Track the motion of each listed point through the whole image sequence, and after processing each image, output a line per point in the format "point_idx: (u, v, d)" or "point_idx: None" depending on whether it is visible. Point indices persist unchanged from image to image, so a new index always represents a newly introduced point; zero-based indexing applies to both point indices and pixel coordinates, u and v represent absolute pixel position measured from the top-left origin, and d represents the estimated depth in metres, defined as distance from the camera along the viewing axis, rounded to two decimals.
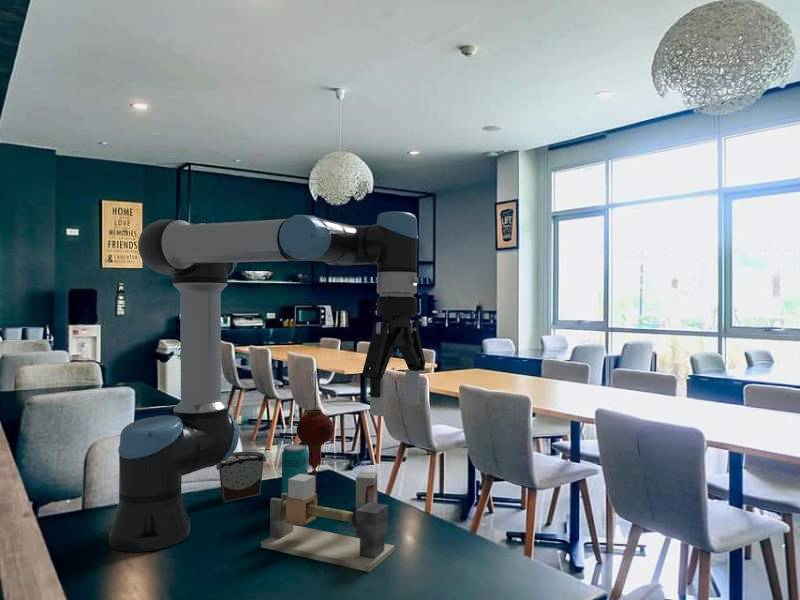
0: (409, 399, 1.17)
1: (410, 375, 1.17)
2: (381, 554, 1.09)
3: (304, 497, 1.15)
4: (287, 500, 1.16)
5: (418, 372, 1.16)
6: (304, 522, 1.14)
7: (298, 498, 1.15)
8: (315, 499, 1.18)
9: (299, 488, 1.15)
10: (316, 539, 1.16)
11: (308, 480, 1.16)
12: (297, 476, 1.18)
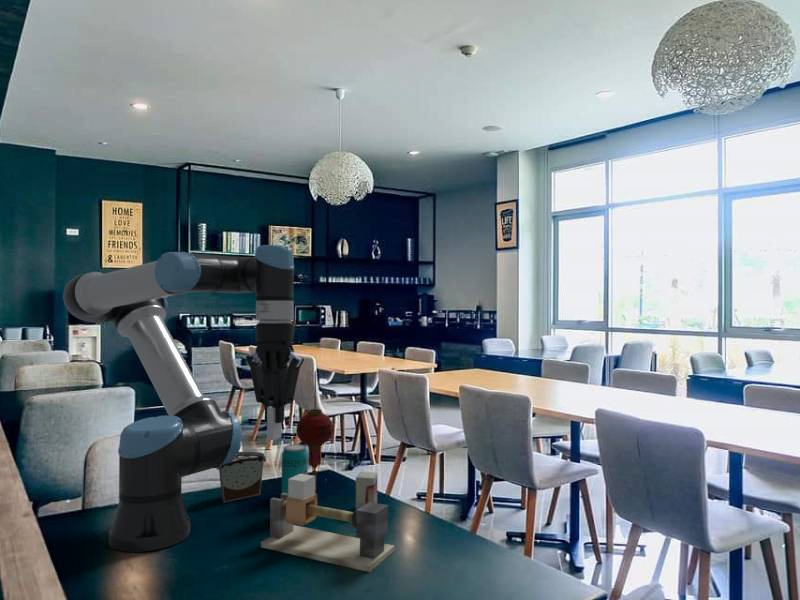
0: None
1: None
2: (381, 554, 1.09)
3: (304, 497, 1.15)
4: (287, 500, 1.16)
5: (271, 408, 1.19)
6: (304, 522, 1.14)
7: (298, 498, 1.15)
8: (315, 499, 1.18)
9: (299, 488, 1.15)
10: (316, 539, 1.16)
11: (308, 480, 1.16)
12: (297, 476, 1.18)
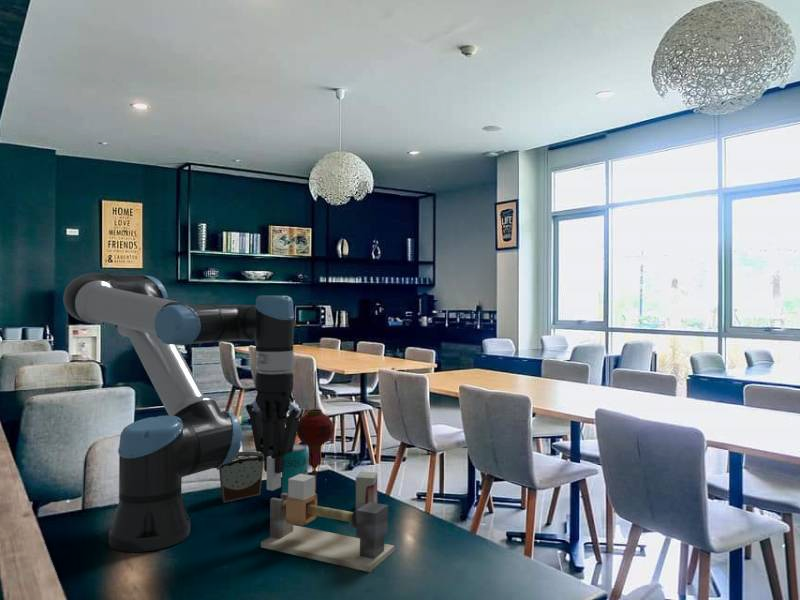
0: None
1: None
2: (381, 554, 1.09)
3: (304, 497, 1.15)
4: (287, 500, 1.16)
5: (271, 458, 1.19)
6: (304, 522, 1.14)
7: (298, 498, 1.15)
8: (315, 499, 1.18)
9: (299, 488, 1.15)
10: (316, 539, 1.16)
11: (308, 480, 1.16)
12: (297, 476, 1.18)
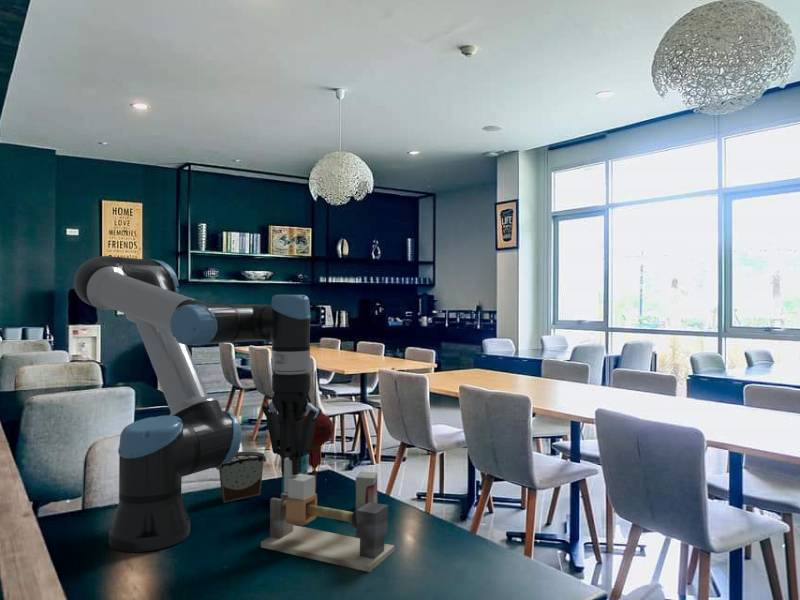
0: None
1: None
2: (381, 554, 1.09)
3: (304, 497, 1.15)
4: (287, 500, 1.16)
5: (288, 460, 1.17)
6: (304, 522, 1.14)
7: (298, 498, 1.15)
8: (315, 499, 1.18)
9: (299, 488, 1.15)
10: (316, 539, 1.16)
11: (308, 480, 1.16)
12: (297, 476, 1.18)
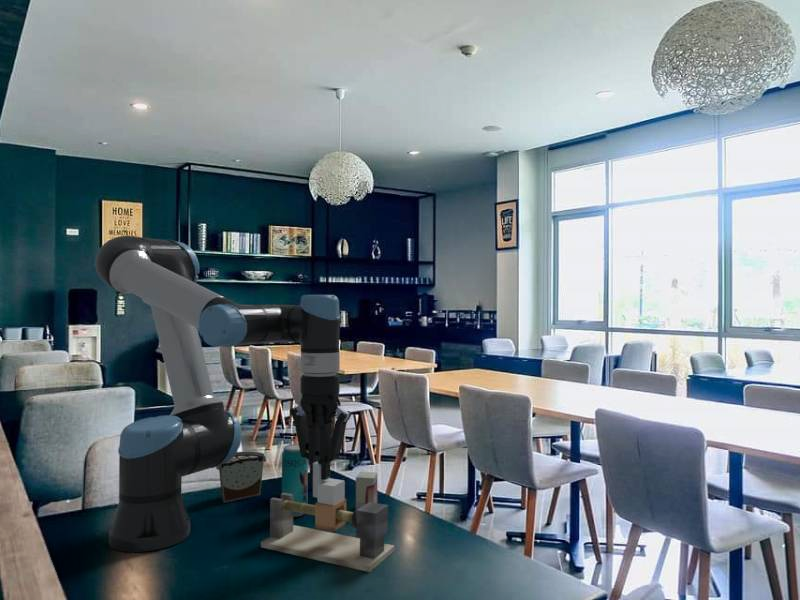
0: None
1: None
2: (381, 554, 1.09)
3: (334, 502, 1.12)
4: (316, 505, 1.13)
5: (317, 464, 1.14)
6: (334, 528, 1.11)
7: (328, 503, 1.12)
8: (344, 504, 1.15)
9: (329, 493, 1.12)
10: (316, 539, 1.16)
11: (338, 485, 1.13)
12: (326, 481, 1.15)
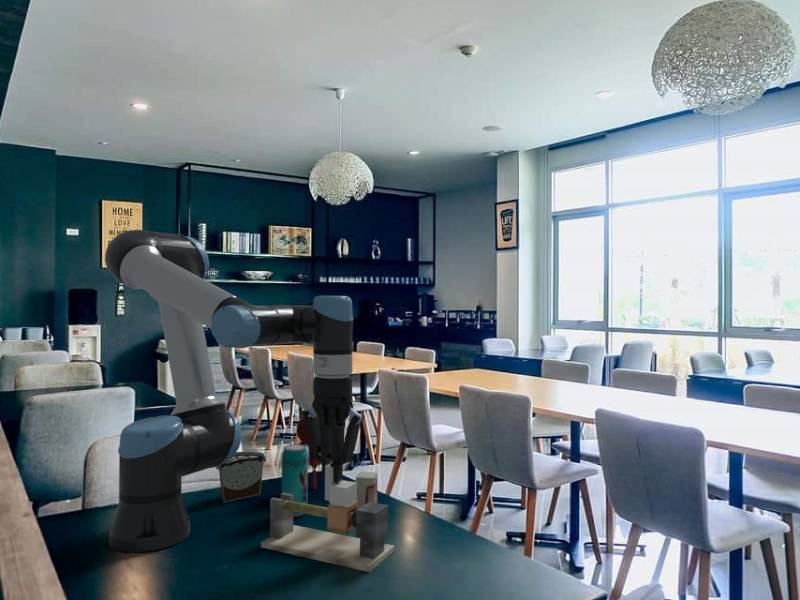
0: None
1: None
2: (381, 554, 1.09)
3: (346, 505, 1.11)
4: (328, 508, 1.11)
5: (329, 467, 1.13)
6: (347, 530, 1.10)
7: (340, 506, 1.11)
8: (357, 506, 1.14)
9: (341, 495, 1.11)
10: (316, 539, 1.16)
11: (350, 487, 1.12)
12: (338, 483, 1.14)
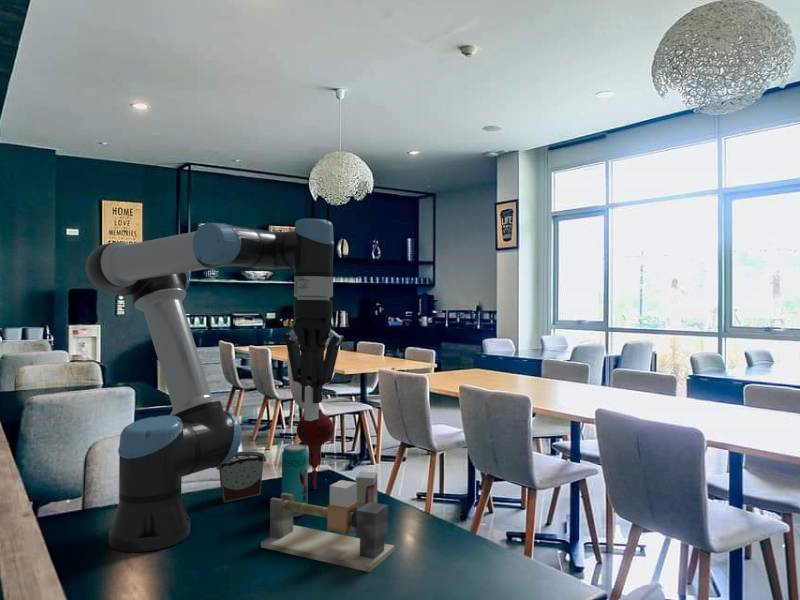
0: None
1: None
2: (381, 554, 1.09)
3: (346, 505, 1.11)
4: (328, 508, 1.11)
5: (309, 388, 1.15)
6: (347, 530, 1.10)
7: (340, 506, 1.11)
8: (357, 506, 1.14)
9: (341, 495, 1.11)
10: (316, 539, 1.16)
11: (350, 487, 1.12)
12: (338, 483, 1.14)
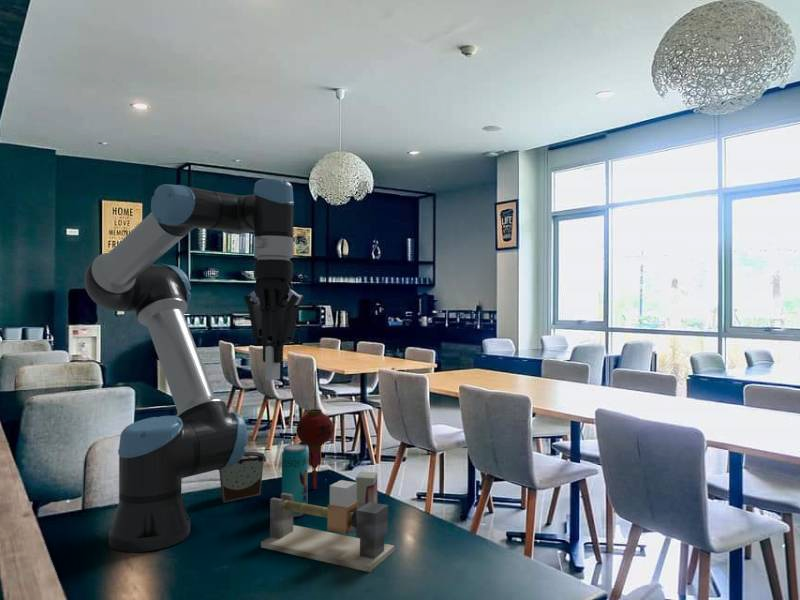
0: None
1: None
2: (381, 554, 1.09)
3: (346, 505, 1.11)
4: (328, 508, 1.11)
5: (270, 348, 1.15)
6: (347, 530, 1.10)
7: (340, 506, 1.11)
8: (357, 506, 1.14)
9: (341, 495, 1.11)
10: (316, 539, 1.16)
11: (350, 487, 1.12)
12: (338, 483, 1.14)
